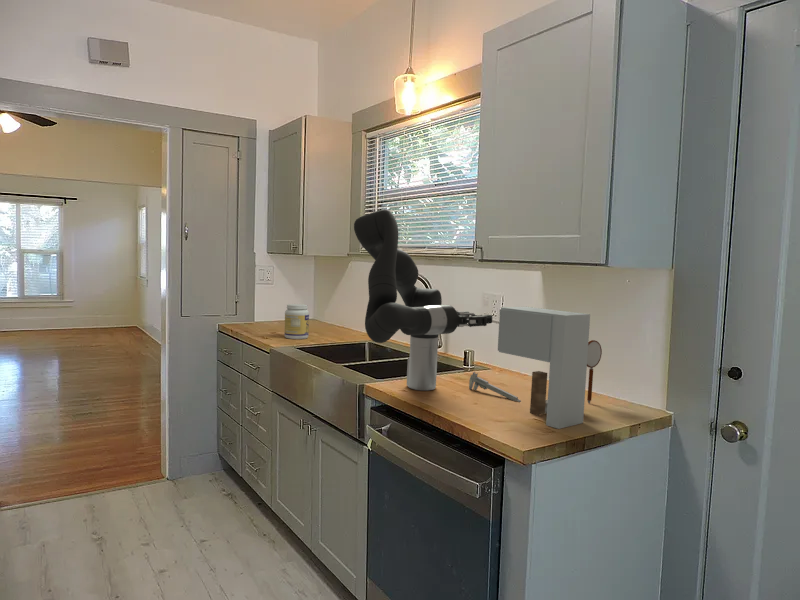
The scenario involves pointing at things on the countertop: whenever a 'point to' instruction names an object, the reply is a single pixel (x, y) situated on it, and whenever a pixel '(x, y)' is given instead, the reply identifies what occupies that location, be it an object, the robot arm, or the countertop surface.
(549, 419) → the grey inverted l-bracket
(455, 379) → the countertop surface
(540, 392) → the tall wooden block
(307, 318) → the supplement tub
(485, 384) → the caliper
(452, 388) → the countertop surface
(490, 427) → the countertop surface
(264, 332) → the countertop surface
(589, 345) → the magnifying glass
